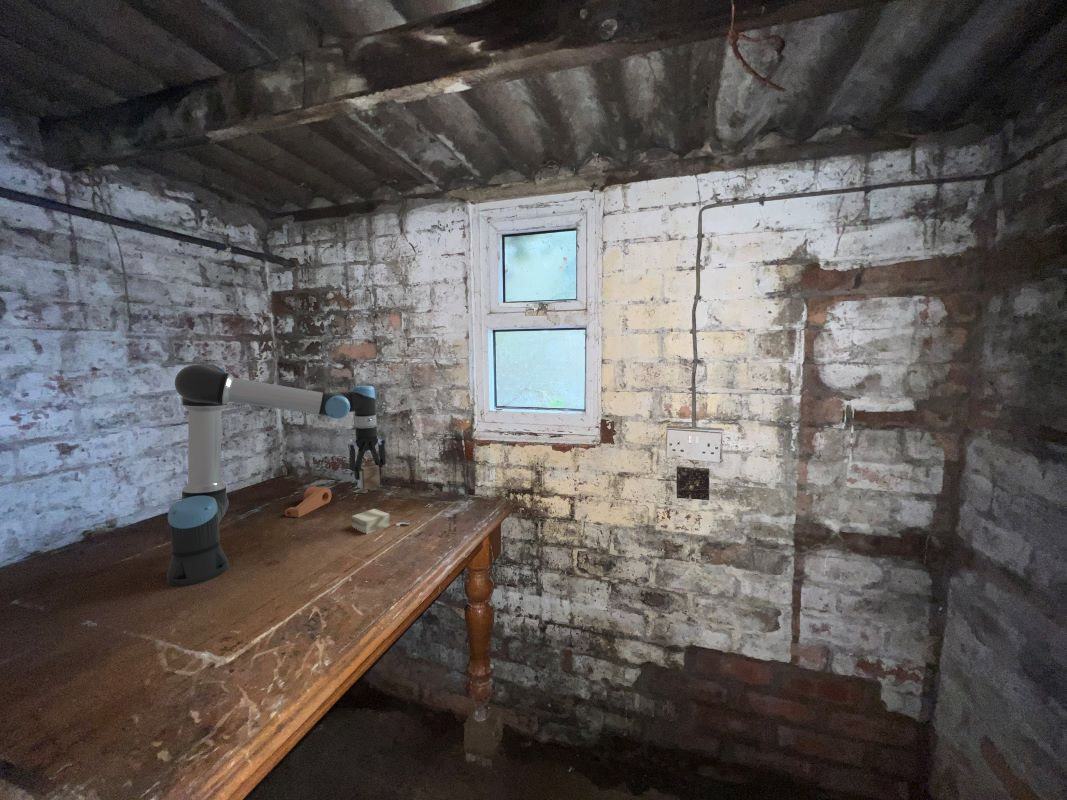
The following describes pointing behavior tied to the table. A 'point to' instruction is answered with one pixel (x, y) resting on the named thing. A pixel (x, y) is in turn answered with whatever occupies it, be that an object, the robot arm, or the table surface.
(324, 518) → the table surface
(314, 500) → the crank
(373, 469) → the walnut block
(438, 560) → the table surface
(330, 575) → the table surface
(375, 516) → the pale square block
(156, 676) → the table surface
